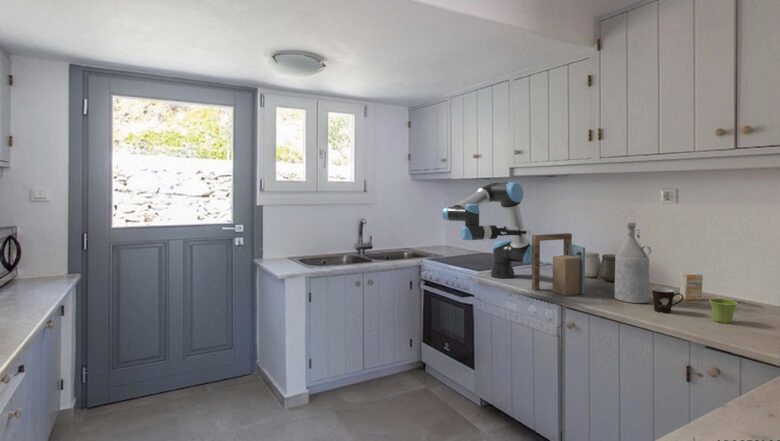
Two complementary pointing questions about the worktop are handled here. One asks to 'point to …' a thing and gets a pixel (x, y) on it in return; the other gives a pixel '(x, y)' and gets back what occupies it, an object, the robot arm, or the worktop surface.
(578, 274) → the wooden block
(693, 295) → the supplement box
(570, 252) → the door
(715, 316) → the plant pot
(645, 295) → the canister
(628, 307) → the worktop surface
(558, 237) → the door frame
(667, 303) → the coffee mug
